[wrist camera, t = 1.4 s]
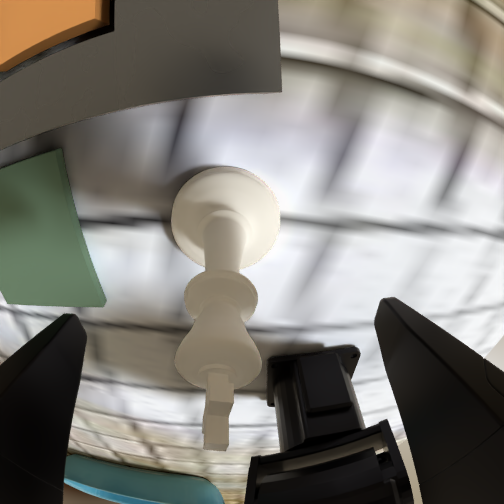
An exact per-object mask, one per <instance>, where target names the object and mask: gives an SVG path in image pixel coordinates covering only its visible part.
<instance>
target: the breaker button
mask: <svg viewBox="0 0 504 504" xmlns="http://www.w3.org/2000/svg"><path fill="white" fill-rule="evenodd" d="M107 25H110V0H0V72H3V71H8V70H9V69H11V68H13V67H14V66H16V65H18V64H20V63H21V62H23V61H25V60H27V59H29V58H31V57H33V56H34V55H36V54H38V53H40V52H42V51H44V50H47V49H49V48H51V47H53V46H55V45H57V44H60V43H62V42H64V41H67V40H69V39H71V38H74V37H76V36H79V35H81V34H84V33H87V32H89V31H92V30H95V29H98V28H101V27H104V26H107Z"/></svg>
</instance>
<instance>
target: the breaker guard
mask: <svg viewBox="0 0 504 504" xmlns="http://www.w3.org/2000/svg"><path fill="white" fill-rule="evenodd" d="M114 27H115V31H114V32H110V33H107V34H104V35H101V36H98V37H95V38H92V39H89V40H87V41H84V42H81V43H78V44H76V45H73V46H71V47H68V48H66V49H64V50H61V51H59V52H57V53H54V54H52V55H50V56H48V57H46V58H44V59H41V60H39V61H37V62H35V63H33V64H31V65H29V66H28V67H26V68H24V69H22V70H20V71H18V72H17V73H15V74H13V75H11V76H10V77H8V78H6V79H5V80H3V81H1V82H0V150H2V149H5V148H7V147H9V146H11V145H14V144H16V143H19V142H21V141H24V140H26V139H29V138H31V137H34V136H37V135H39V134H42V133H45V132H48V131H51V130H53V129H56V128H59V127H63V126H66V125H69V124H72V123H75V122H79V121H82V120H86V119H90V118H93V117H97V116H101V115H105V114H109V113H113V112H117V111H122V110H127V109H131V108H136V107H141V106H147V105H152V104H158V103H164V102H171V101H178V100H185V99H194V98H203V97H213V96H225V95H242V94H268V93H280V92H282V79H281V53H280V32H279V14H278V0H115V20H114Z"/></svg>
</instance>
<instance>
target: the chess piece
mask: <svg viewBox="0 0 504 504" xmlns="http://www.w3.org/2000/svg"><path fill="white" fill-rule="evenodd" d="M171 227H172V232H173V235H174V238H175V241H176V243H177V244H178V246H179V248H180V249H181V250H182V251H183V253H184V254H185V255H186V256H187V257H188V258H190V259H191V260H192V261H194V262H195V263H197V264H199V265H201V266H203V267H205V271H204V272H202V273H200V274H198V275H196V276H195V277H194V278H193V279H191V281H190V282H189V283H188V285H187V286H186V289H185V293H184V300H185V304H186V308H187V310H188V312H189V314H190V315H191V317H192V318H193V319H194V320H195V322H194V324H193V327H192V328H191V330H190V331H189V333H188V334H187V335H186V336H185V337H184V339H183V341H182V342H181V344H180V345H179V347H178V349H177V351H176V354H175V366H176V369H177V371H178V373H179V374H180V375H181V376H182V377H183V378H184V379H185V380H186V381H188V382H189V383H191V384H193V385H195V386H197V387H199V388H203V389H206V401H205V410H204V414H203V426H202V434H204V447H203V449H204V450H216V451H226V449H227V447H228V445H229V414H230V412H231V409H232V406H233V404H234V390H235V389H238V388H241V387H244V386H246V385H248V384H249V383H251V382H252V381H253V380H254V379H255V378H256V377H257V376H258V375H259V373H260V371H261V367H262V360H261V356H260V354H259V351H258V349H257V347H256V345H255V343H254V341H253V340H252V339H251V337H250V336H249V334H248V332H247V330H246V327H245V324H244V323H245V322H246V321H248V320H249V319H250V318H251V316H252V315H253V313H254V311H255V308H256V306H257V302H258V295H257V291H256V289H255V287H254V285H253V284H252V282H251V281H250V280H249V279H248V278H246V277H245V276H243V275H242V274H240V273H239V270H240V269H243V268H246V267H249V266H251V265H253V264H255V263H257V262H258V261H260V260H261V259H262V258H263V257H265V256H266V255H267V254H268V252H269V251H270V250H271V249H272V247H273V245H274V244H275V242H276V240H277V237H278V234H279V229H280V209H279V205H278V201H277V199H276V197H275V195H274V193H273V191H272V190H271V188H270V187H269V186H268V185H267V184H266V183H265V182H264V181H263V180H262V179H261V178H259V177H258V176H256V175H255V174H253V173H251V172H249V171H246V170H243V169H240V168H235V167H216V168H211V169H208V170H205V171H203V172H200V173H198V174H197V175H195V176H193V177H192V178H191V179H189V180H188V181H187V182H186V183H185V184H184V185H183V187H182V188H181V189H180V191H179V192H178V194H177V196H176V198H175V201H174V204H173V208H172V216H171Z"/></svg>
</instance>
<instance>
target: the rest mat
mask: <svg viewBox="0 0 504 504" xmlns="http://www.w3.org/2000/svg"><path fill="white" fill-rule="evenodd" d="M0 291H1V293H2V294H3V296H4V298H5V300H6V302H7V304H18V305H37V306H63V307H104V305H105V303H106V301H107V300H106V297H105V295H104V292H103V290H102V287H101V285H100V282H99V280H98V277H97V274H96V272H95V269H94V266H93V263H92V261H91V258H90V255H89V252H88V249H87V246H86V243H85V240H84V237H83V233H82V230H81V227H80V223H79V220H78V216H77V213H76V209H75V205H74V202H73V198H72V194H71V190H70V185H69V181H68V177H67V172H66V167H65V162H64V157H63V152H62V148H59V149H55V150H52V151H49V152H46V153H42V154H39V155H36V156H33V157H30V158H27V159H25V160H22V161H19V162H16V163H14V164H11V165H8V166H6V167H3V168H1V169H0Z"/></svg>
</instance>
